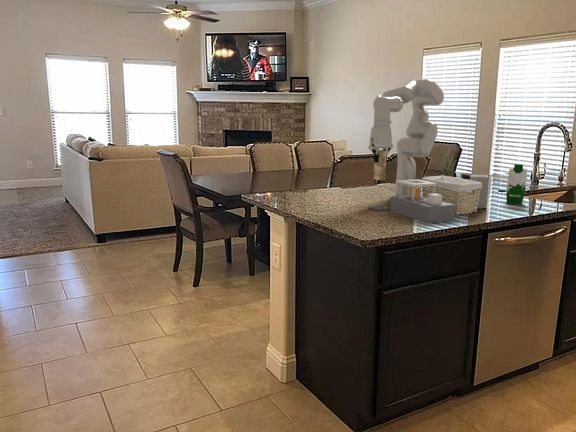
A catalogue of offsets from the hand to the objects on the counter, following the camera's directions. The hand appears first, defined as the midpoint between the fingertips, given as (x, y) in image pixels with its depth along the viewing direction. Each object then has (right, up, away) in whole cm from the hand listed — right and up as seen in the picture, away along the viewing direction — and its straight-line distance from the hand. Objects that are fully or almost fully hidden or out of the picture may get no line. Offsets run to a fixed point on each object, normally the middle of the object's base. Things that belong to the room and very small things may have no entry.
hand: (380, 161), depth 244 cm
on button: (+18, -24, -27) cm, 40 cm away
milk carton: (+72, -20, +16) cm, 76 cm away
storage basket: (+32, -24, -4) cm, 40 cm away
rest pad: (-2, -23, -6) cm, 24 cm away
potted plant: (+49, -10, +56) cm, 75 cm away
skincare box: (+47, -22, +3) cm, 52 cm away
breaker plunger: (+13, -21, -16) cm, 29 cm away
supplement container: (+55, -15, +35) cm, 67 cm away
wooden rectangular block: (0, -8, +2) cm, 9 cm away
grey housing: (+15, -26, -19) cm, 35 cm away
